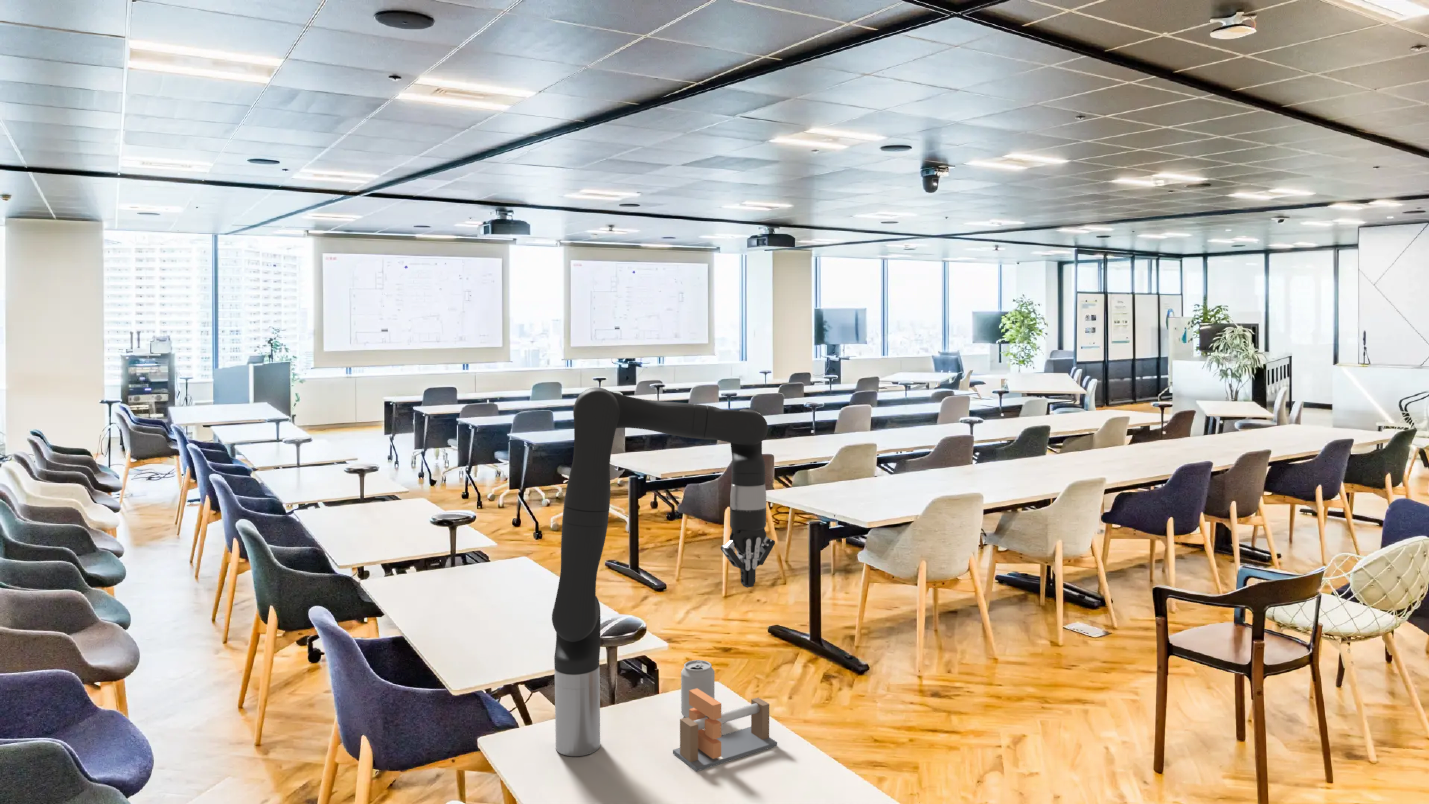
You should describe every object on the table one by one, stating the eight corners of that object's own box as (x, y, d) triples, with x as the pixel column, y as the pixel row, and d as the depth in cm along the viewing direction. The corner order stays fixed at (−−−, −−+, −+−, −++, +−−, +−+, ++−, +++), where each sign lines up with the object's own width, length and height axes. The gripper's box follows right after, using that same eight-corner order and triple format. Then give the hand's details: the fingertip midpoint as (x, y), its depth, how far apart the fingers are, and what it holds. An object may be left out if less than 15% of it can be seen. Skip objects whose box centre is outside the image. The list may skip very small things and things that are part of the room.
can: (677, 721, 202) (677, 668, 201) (686, 707, 210) (686, 656, 209) (710, 724, 201) (709, 671, 200) (717, 710, 208) (717, 659, 207)
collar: (712, 759, 182) (712, 705, 181) (689, 741, 189) (689, 690, 188) (721, 756, 183) (721, 703, 182) (697, 739, 190) (697, 688, 189)
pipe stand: (696, 771, 179) (696, 731, 179) (672, 753, 187) (672, 714, 186) (777, 745, 190) (777, 707, 190) (751, 729, 198) (752, 693, 197)
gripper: (763, 498, 197) (762, 577, 198) (711, 505, 189) (711, 587, 191) (784, 504, 190) (783, 585, 192) (732, 511, 183) (732, 595, 185)
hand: (747, 586), depth 191 cm, fingers closed
